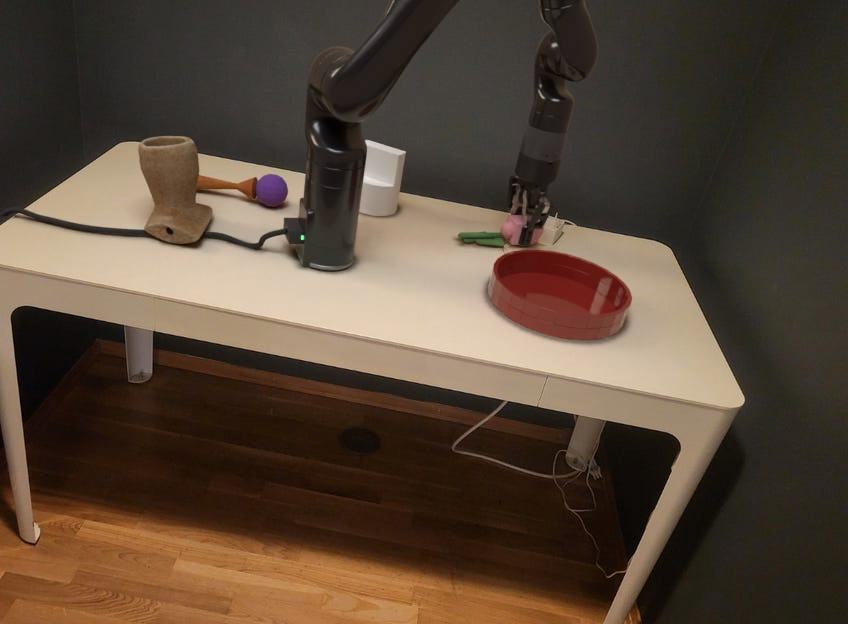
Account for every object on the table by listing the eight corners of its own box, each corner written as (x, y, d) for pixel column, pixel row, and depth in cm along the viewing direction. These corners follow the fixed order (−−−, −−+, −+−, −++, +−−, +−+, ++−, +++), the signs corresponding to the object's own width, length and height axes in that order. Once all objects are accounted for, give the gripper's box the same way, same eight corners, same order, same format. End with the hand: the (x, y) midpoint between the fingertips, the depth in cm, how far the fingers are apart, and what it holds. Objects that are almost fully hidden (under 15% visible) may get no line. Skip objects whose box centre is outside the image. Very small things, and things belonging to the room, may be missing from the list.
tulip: (463, 246, 136) (468, 225, 133) (452, 233, 140) (456, 212, 138) (545, 246, 141) (551, 226, 138) (532, 233, 145) (538, 213, 143)
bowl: (523, 344, 111) (530, 319, 108) (467, 273, 128) (472, 249, 126) (649, 339, 117) (659, 314, 115) (580, 271, 135) (587, 249, 132)
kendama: (190, 162, 143) (291, 173, 141) (190, 193, 145) (290, 205, 143) (178, 166, 137) (284, 178, 135) (178, 199, 140) (282, 210, 138)
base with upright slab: (343, 206, 145) (350, 146, 139) (365, 194, 152) (373, 136, 146) (383, 220, 142) (392, 159, 136) (404, 207, 149) (414, 148, 142)
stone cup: (152, 205, 134) (150, 122, 126) (218, 214, 134) (220, 132, 126) (125, 240, 121) (120, 151, 113) (198, 251, 122) (198, 162, 114)
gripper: (505, 137, 136) (485, 223, 146) (540, 165, 125) (516, 257, 135) (542, 139, 139) (519, 224, 148) (579, 167, 128) (552, 256, 137)
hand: (518, 239), depth 141 cm, fingers closed on tulip, 4 cm apart
